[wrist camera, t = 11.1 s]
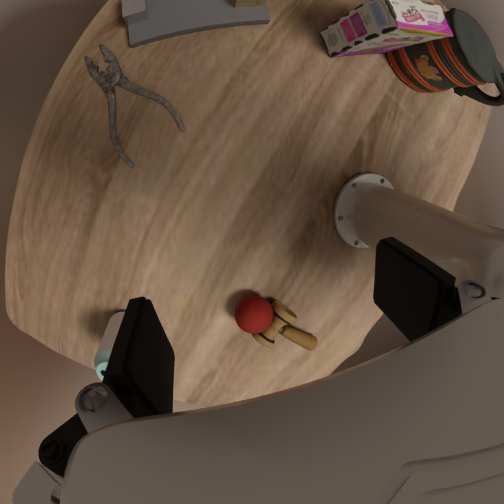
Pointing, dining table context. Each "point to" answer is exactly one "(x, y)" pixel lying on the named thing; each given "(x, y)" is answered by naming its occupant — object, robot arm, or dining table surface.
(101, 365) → the can
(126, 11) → the block
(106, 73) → the pliers
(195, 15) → the tie down board
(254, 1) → the bracket
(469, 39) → the beer stein
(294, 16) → the dining table surface
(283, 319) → the kendama
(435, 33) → the candy bar box
